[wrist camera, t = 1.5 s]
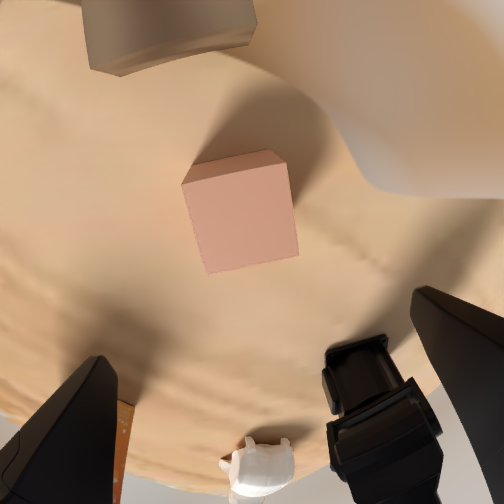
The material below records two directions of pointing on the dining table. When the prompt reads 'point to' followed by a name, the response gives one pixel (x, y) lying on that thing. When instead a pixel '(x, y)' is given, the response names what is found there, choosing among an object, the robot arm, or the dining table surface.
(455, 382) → the robot arm
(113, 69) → the walnut block
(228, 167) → the terracotta cube
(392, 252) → the dining table surface
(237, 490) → the white animal figurine
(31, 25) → the dining table surface
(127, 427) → the small box
